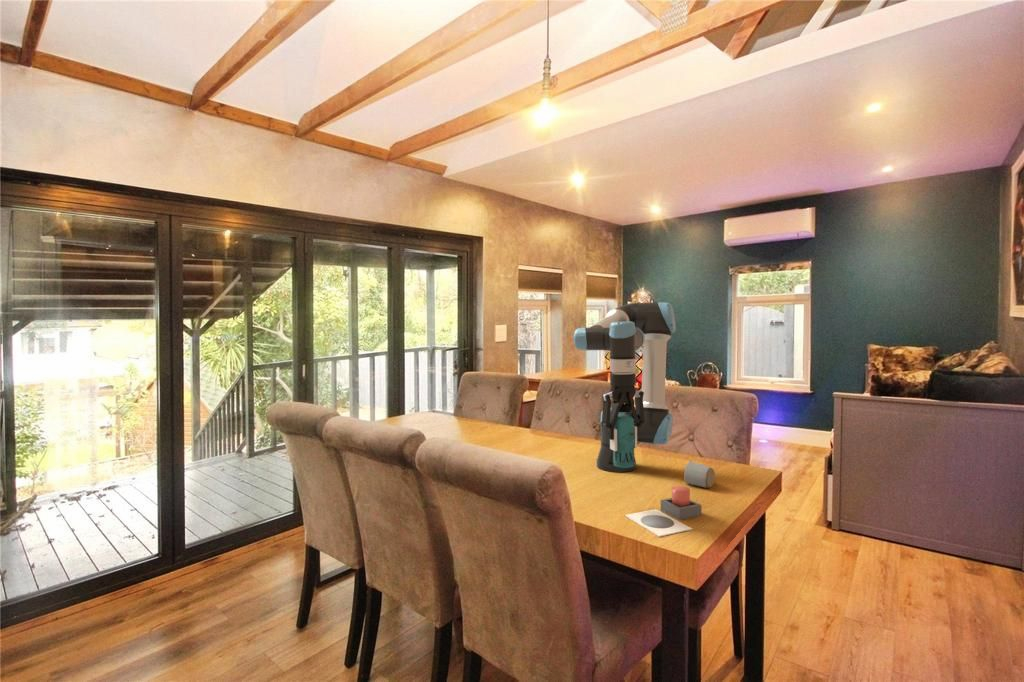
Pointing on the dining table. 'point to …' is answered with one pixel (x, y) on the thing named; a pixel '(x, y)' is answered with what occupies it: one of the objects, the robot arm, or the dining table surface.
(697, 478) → the ceramic mug
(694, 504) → the button base
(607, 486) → the dining table surface
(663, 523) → the paper card
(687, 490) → the button
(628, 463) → the beverage bottle
